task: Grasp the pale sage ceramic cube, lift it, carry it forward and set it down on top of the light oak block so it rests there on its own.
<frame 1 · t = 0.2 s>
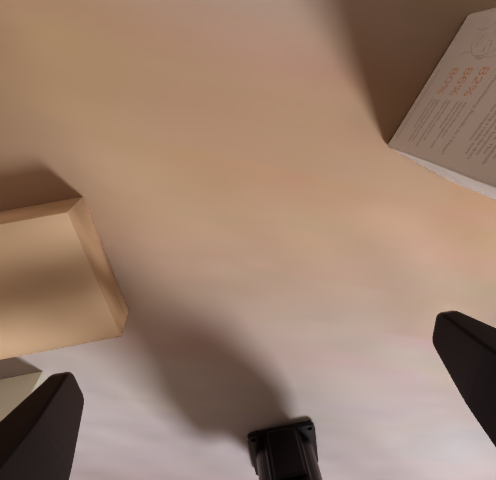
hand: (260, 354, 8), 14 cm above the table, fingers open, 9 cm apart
small box: (454, 104, 21), on the table
sage cube: (25, 398, 27), on the table
oak block: (43, 268, 23), on the table
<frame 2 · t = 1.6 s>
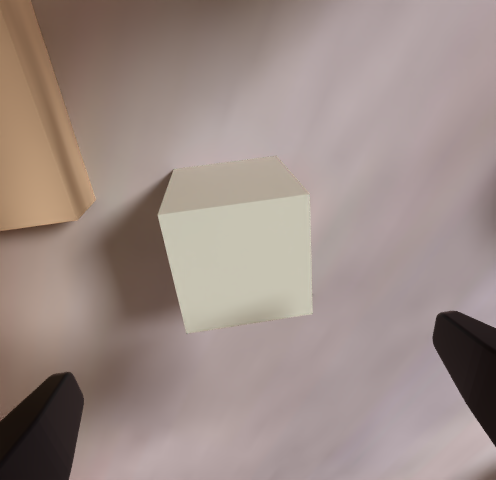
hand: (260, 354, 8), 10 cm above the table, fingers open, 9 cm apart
sage cube: (231, 209, 17), on the table
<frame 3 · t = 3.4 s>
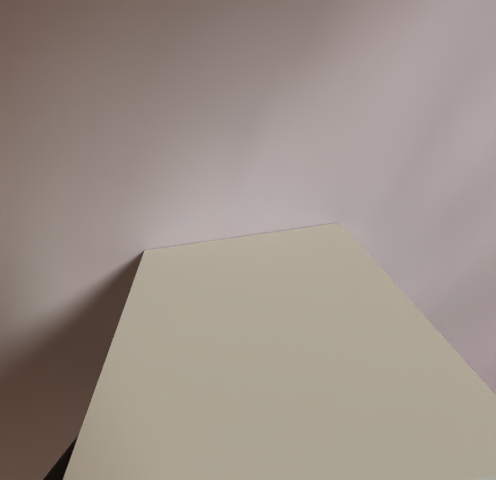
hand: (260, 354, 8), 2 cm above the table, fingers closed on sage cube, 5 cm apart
sage cube: (253, 314, 10), on the table, touching gripper
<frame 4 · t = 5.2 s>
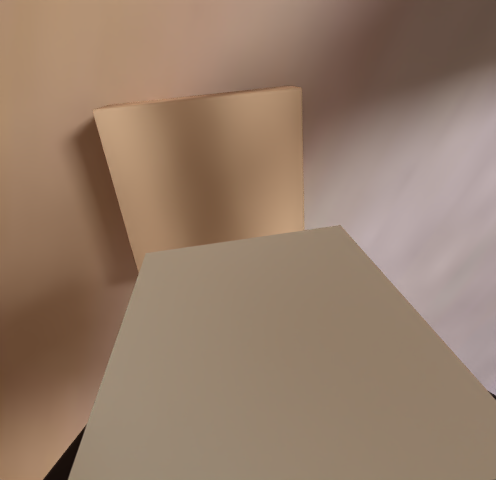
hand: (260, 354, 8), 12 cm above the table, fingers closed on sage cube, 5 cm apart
sage cube: (253, 316, 10), point 11 cm above the table, touching gripper
oak block: (212, 180, 19), on the table
when the fingers open (5 cm above the table, at t = 7.3 s): sage cube drops 1 cm, point 2 cm above the table.
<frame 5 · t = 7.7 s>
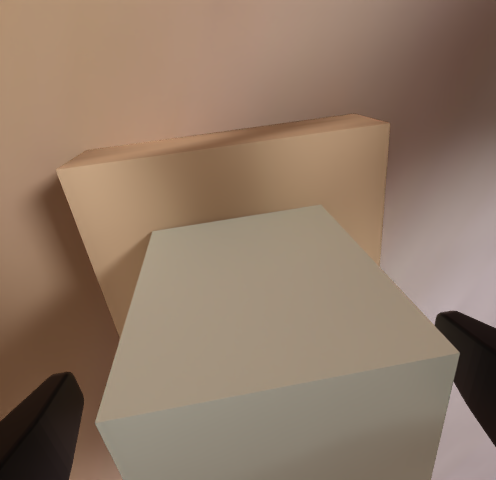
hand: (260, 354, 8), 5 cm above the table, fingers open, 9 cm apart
sage cube: (247, 287, 11), point 2 cm above the table
oak block: (238, 243, 14), on the table
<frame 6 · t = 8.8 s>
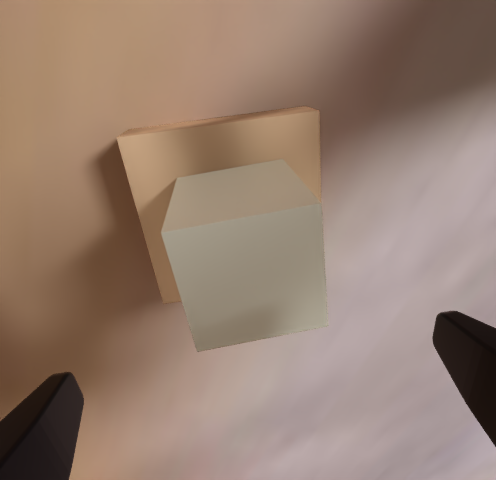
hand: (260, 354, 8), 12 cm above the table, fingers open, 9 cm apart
sage cube: (238, 217, 17), point 2 cm above the table
oak block: (229, 198, 19), on the table
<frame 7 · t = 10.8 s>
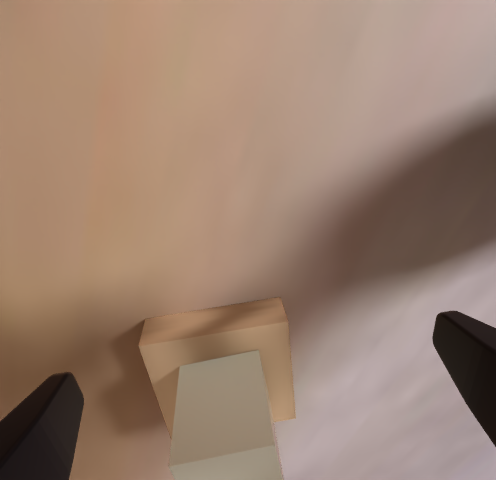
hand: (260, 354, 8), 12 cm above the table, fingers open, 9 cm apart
sage cube: (227, 385, 22), point 2 cm above the table
oak block: (223, 352, 25), on the table
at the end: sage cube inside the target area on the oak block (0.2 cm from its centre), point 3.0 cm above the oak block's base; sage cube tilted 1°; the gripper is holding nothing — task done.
